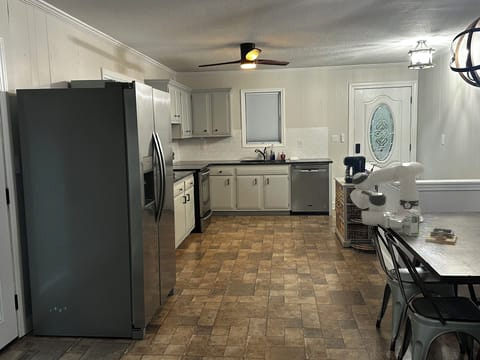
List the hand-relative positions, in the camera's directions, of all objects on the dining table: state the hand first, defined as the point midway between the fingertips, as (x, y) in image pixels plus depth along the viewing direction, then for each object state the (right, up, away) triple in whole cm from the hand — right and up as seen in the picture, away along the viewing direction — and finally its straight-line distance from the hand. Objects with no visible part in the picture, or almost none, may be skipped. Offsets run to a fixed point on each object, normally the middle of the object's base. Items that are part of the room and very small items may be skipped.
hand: (413, 222), depth 241 cm
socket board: (+12, -9, -9) cm, 17 cm away
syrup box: (-1, -8, +1) cm, 8 cm away
